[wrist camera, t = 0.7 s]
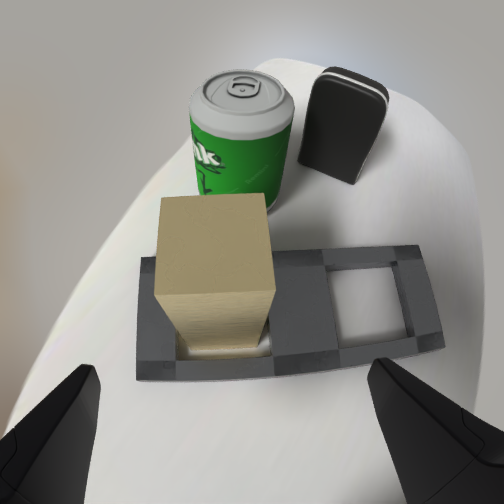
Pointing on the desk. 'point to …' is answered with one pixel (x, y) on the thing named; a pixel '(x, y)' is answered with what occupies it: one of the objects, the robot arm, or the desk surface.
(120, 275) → the desk surface
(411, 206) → the desk surface
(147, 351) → the grey rectangular frame
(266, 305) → the block
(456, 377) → the desk surface
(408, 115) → the desk surface
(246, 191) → the soda can
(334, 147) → the battery charger
